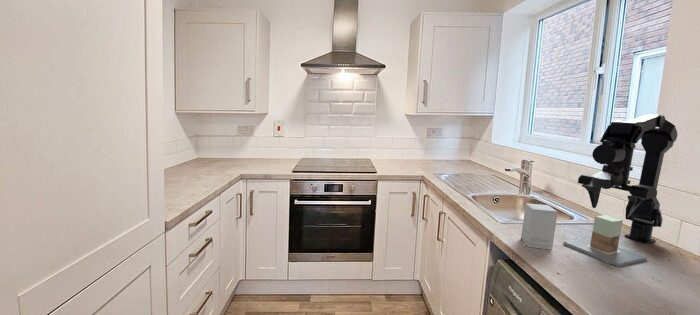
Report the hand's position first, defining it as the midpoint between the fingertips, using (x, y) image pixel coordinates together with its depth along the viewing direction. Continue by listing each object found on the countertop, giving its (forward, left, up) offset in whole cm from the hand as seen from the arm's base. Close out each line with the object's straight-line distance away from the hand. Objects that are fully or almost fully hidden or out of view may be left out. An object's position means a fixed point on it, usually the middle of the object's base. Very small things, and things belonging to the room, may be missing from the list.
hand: (609, 212), depth 101 cm
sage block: (0, 0, -7) cm, 7 cm away
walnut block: (0, 0, -12) cm, 12 cm away
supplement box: (+16, -11, -13) cm, 24 cm away
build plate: (0, 0, -13) cm, 13 cm away
